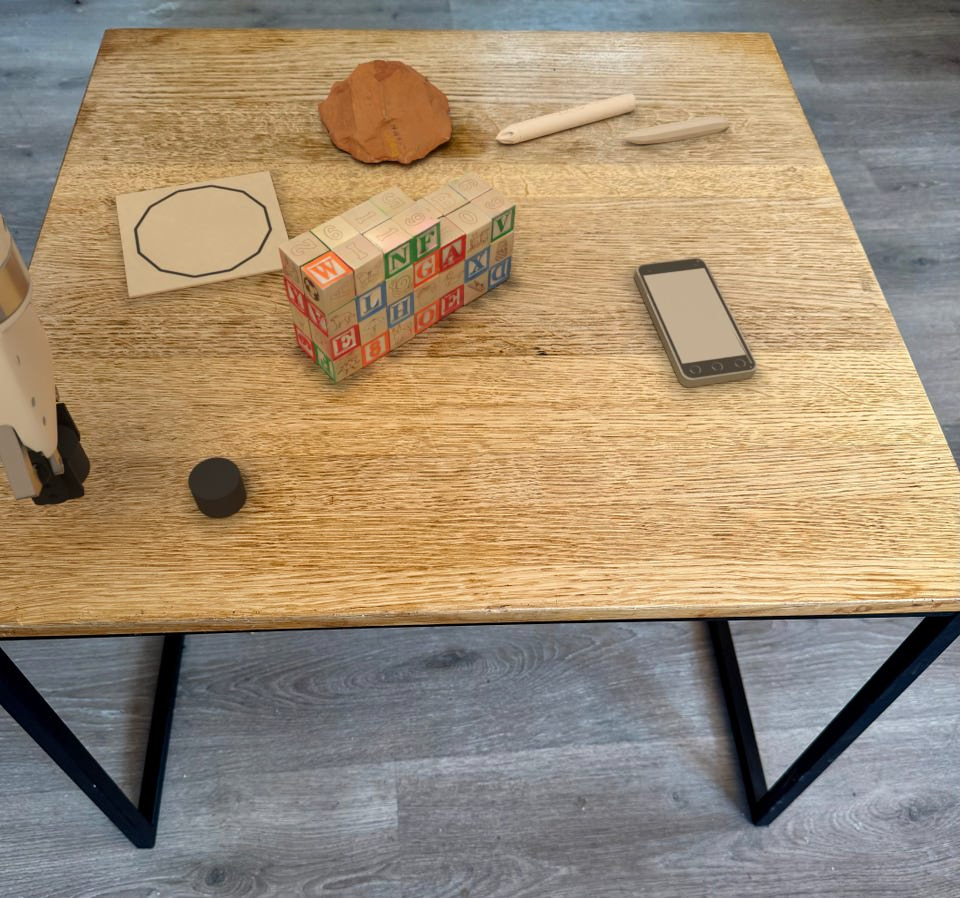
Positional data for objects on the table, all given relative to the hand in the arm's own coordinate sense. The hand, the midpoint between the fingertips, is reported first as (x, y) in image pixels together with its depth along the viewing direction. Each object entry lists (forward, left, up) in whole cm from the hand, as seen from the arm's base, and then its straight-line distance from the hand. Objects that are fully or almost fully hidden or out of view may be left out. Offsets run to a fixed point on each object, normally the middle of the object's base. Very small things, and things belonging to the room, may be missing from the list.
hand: (58, 469), depth 61 cm
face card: (+12, +33, -9) cm, 36 cm away
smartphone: (+55, +8, -9) cm, 57 cm away
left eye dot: (0, 0, 0) cm, 0 cm away
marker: (+54, +40, -10) cm, 68 cm away
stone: (+34, +45, -10) cm, 57 cm away
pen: (+66, +35, -10) cm, 76 cm away
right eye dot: (+9, +1, -9) cm, 13 cm away
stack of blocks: (+29, +17, -10) cm, 35 cm away
